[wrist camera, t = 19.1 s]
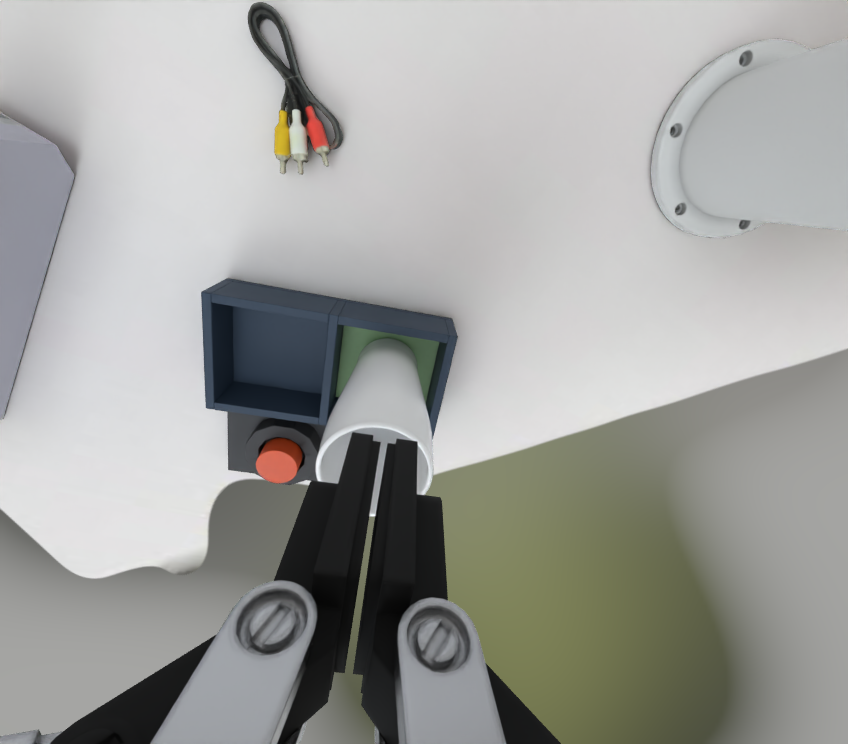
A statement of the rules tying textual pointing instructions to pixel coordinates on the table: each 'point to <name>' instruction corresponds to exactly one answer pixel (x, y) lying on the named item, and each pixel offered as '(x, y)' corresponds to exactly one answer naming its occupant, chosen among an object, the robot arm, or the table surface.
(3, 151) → the game console
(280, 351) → the divided tray
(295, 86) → the composite cable
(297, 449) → the button
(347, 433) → the drinking glass
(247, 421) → the control block
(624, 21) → the table surface
